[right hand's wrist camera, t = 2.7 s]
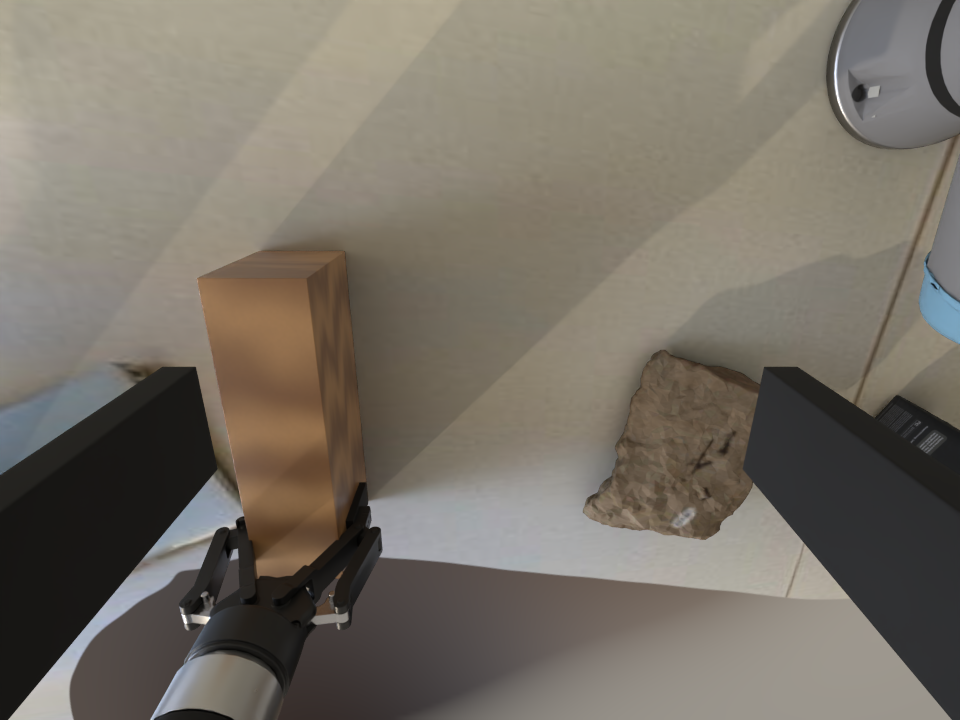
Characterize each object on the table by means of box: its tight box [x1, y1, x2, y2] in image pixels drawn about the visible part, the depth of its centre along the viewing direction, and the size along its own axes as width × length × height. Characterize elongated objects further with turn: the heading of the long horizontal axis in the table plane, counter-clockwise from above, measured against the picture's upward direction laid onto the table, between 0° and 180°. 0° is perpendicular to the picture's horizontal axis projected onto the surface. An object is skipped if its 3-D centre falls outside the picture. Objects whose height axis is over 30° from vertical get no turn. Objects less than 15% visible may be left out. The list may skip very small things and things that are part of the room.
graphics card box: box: [875, 395, 960, 475], centre depth 47 cm, size 17×7×27 cm, turn 153°
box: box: [197, 251, 368, 579], centre depth 51 cm, size 30×8×12 cm, turn 0°
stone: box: [583, 350, 760, 540], centre depth 57 cm, size 21×15×6 cm
